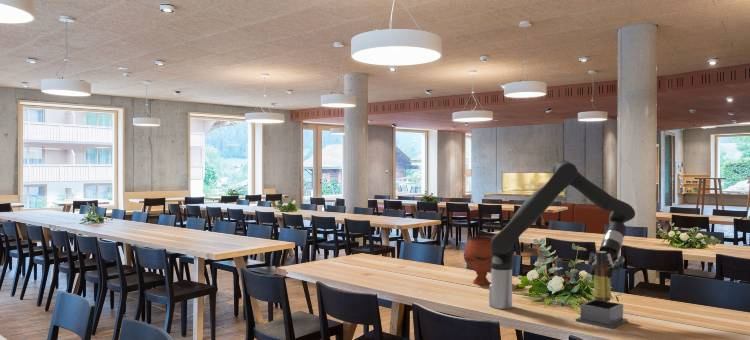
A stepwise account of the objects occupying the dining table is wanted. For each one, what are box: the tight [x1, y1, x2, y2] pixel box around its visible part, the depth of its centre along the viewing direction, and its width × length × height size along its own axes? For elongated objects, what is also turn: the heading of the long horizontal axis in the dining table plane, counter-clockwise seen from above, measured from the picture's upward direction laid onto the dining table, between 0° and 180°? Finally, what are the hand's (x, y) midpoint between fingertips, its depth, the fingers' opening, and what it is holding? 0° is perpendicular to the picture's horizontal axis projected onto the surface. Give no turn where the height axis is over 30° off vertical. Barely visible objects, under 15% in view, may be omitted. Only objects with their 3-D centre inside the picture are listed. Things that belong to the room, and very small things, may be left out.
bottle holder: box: [575, 298, 629, 329], centre depth 226 cm, size 15×15×7 cm
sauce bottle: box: [593, 250, 612, 302], centre depth 226 cm, size 7×6×20 cm
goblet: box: [463, 235, 494, 285], centre depth 302 cm, size 19×19×25 cm
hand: (600, 275), depth 225 cm, fingers closed on sauce bottle, 6 cm apart
